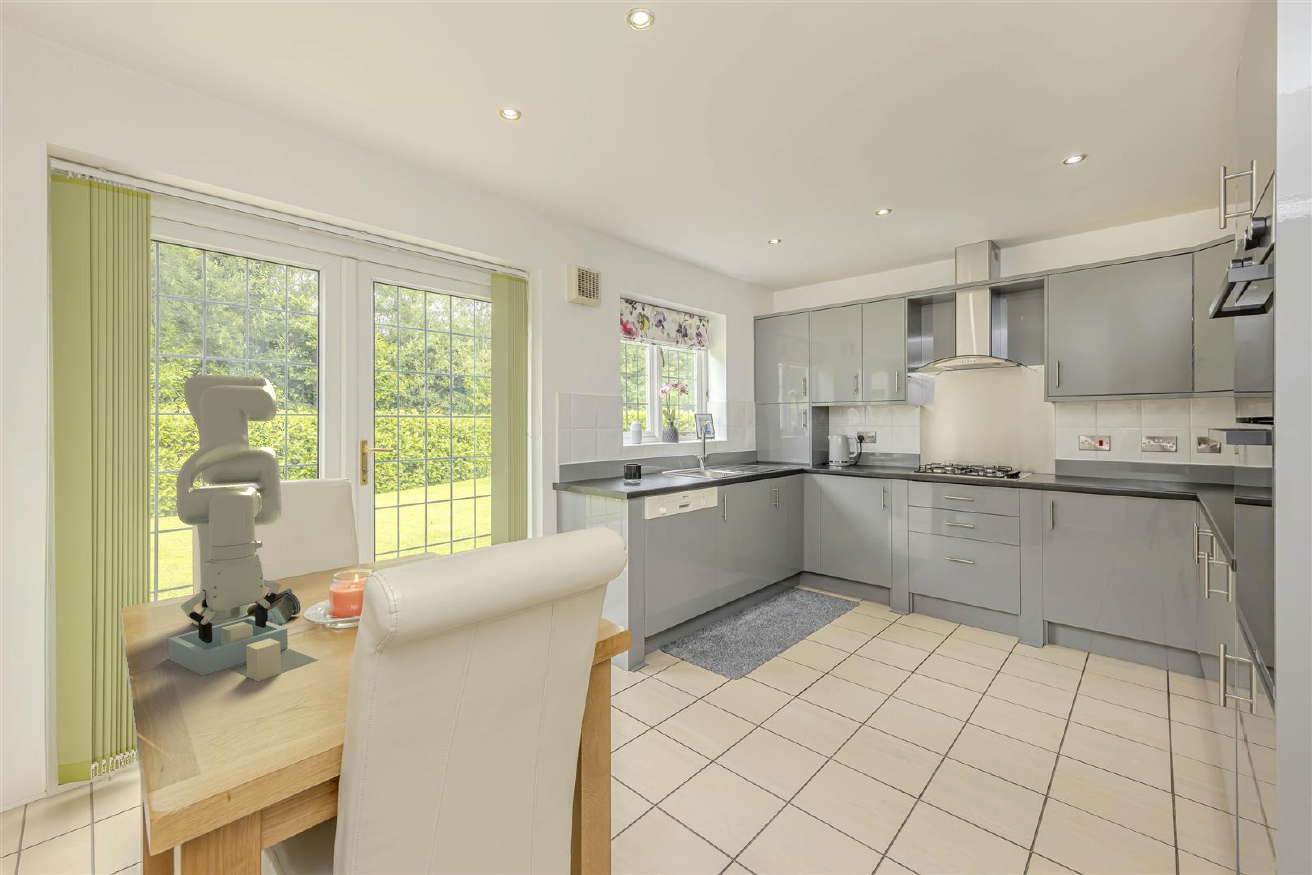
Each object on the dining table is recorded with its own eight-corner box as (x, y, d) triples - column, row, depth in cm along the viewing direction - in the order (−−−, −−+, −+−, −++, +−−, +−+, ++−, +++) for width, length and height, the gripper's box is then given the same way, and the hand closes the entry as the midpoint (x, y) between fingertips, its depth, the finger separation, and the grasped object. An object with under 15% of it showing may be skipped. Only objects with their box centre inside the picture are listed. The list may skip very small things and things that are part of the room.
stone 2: (246, 676, 107) (246, 645, 107) (270, 668, 110) (269, 638, 110) (257, 681, 105) (256, 649, 105) (280, 673, 108) (280, 642, 108)
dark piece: (229, 630, 132) (263, 596, 131) (243, 611, 139) (276, 579, 138) (266, 651, 136) (300, 619, 135) (278, 632, 142) (311, 601, 141)
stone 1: (221, 656, 115) (221, 627, 115) (244, 650, 119) (243, 621, 119) (231, 661, 113) (230, 631, 113) (253, 654, 117) (252, 625, 117)
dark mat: (229, 669, 111) (229, 668, 111) (289, 650, 120) (289, 648, 120) (257, 683, 105) (257, 681, 105) (318, 661, 114) (318, 659, 114)
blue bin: (168, 659, 115) (167, 638, 115) (252, 635, 128) (251, 615, 128) (202, 677, 107) (201, 653, 107) (287, 649, 121) (287, 628, 120)
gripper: (269, 541, 125) (271, 618, 126) (172, 558, 110) (174, 644, 111) (287, 545, 122) (289, 624, 122) (189, 562, 107) (191, 652, 107)
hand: (234, 633), depth 116 cm, fingers open, 9 cm apart
